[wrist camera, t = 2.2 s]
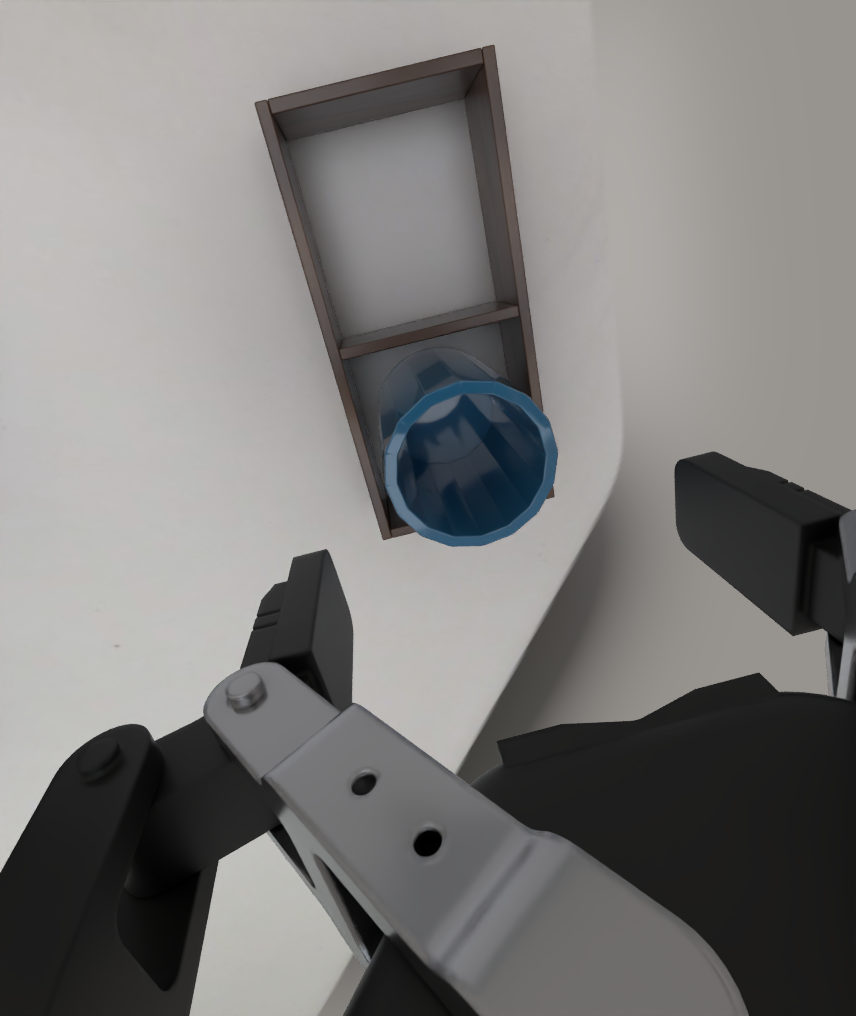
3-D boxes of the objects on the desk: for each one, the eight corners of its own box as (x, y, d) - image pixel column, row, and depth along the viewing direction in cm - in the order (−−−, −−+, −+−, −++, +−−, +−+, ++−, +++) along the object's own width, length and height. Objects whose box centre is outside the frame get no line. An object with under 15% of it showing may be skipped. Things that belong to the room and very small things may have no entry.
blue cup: (407, 325, 22) (428, 350, 15) (518, 377, 23) (588, 422, 16) (359, 441, 24) (358, 514, 17) (466, 483, 25) (508, 567, 18)
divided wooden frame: (272, 131, 19) (253, 101, 16) (472, 82, 19) (494, 44, 16) (380, 507, 25) (383, 540, 22) (530, 469, 25) (555, 497, 22)
